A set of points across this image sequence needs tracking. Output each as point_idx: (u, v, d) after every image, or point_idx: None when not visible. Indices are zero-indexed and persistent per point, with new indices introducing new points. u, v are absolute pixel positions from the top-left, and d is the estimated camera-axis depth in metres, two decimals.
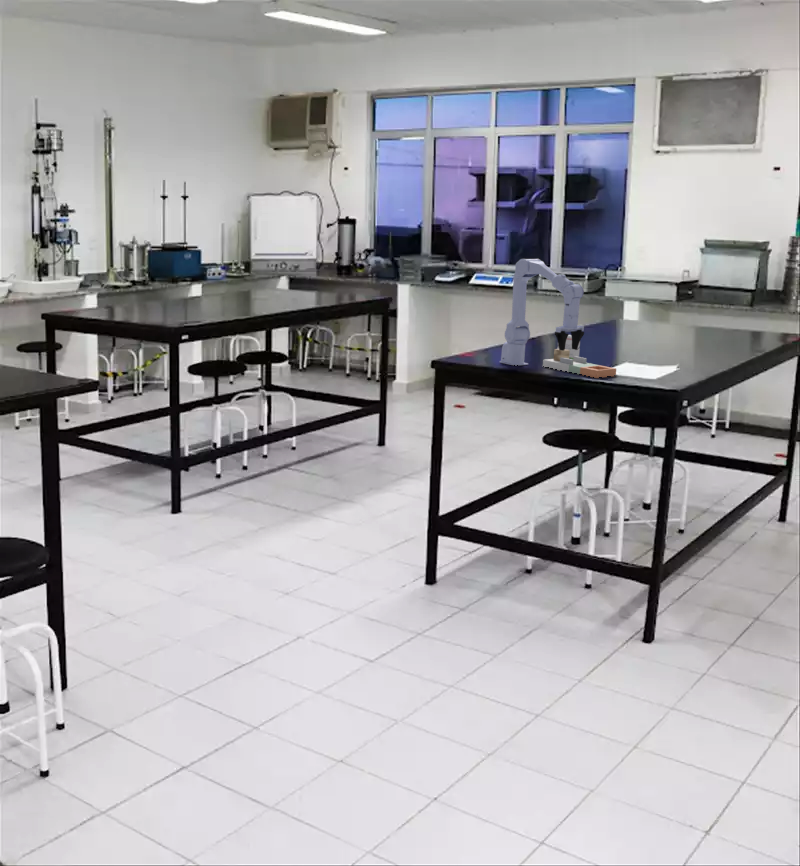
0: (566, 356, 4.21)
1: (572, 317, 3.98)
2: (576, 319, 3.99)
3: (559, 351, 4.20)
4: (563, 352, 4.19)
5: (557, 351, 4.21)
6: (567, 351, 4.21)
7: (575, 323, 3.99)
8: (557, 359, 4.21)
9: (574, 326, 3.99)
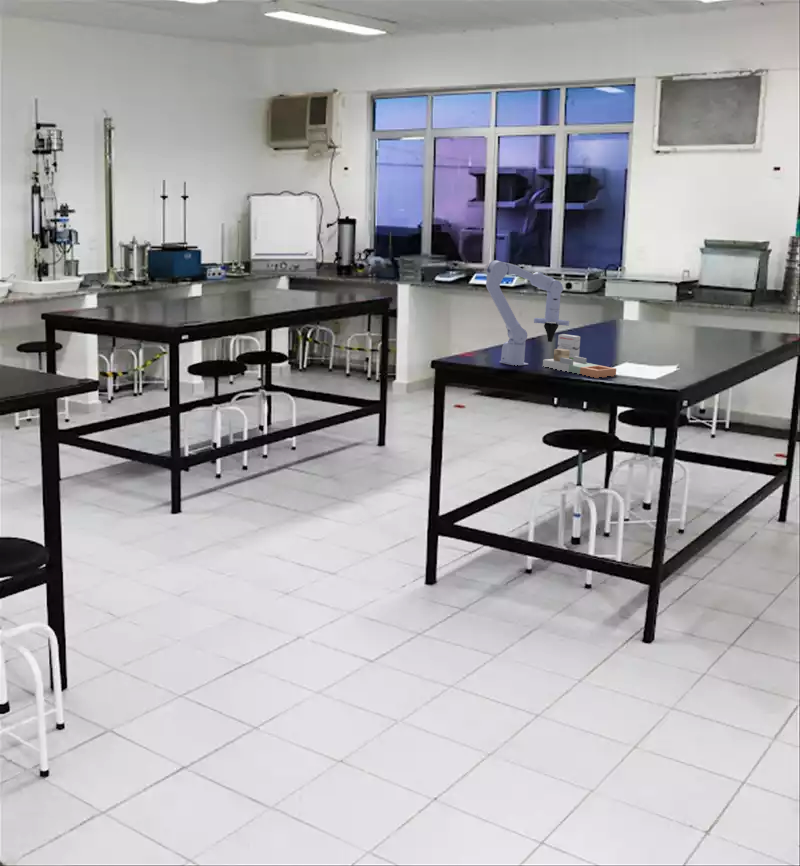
0: (566, 356, 4.21)
1: (547, 310, 4.22)
2: (550, 312, 4.21)
3: (559, 351, 4.20)
4: (563, 352, 4.19)
5: (557, 351, 4.21)
6: (567, 351, 4.21)
7: (549, 316, 4.21)
8: (557, 359, 4.21)
9: (548, 319, 4.22)
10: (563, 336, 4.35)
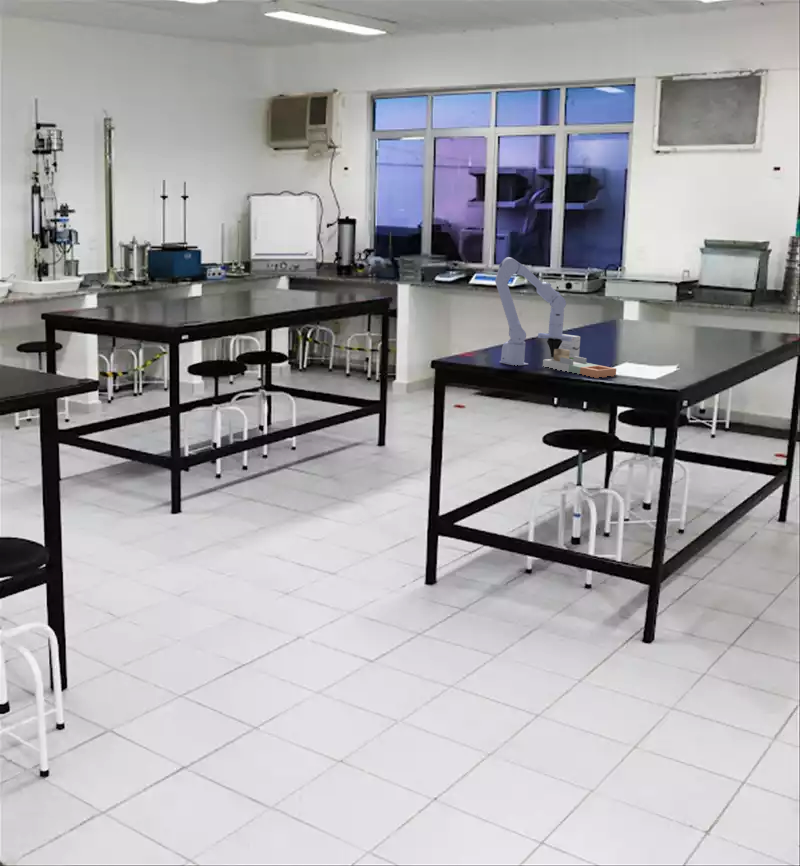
0: (566, 356, 4.21)
1: (550, 325, 4.22)
2: (553, 328, 4.21)
3: (559, 351, 4.20)
4: (563, 352, 4.19)
5: (557, 351, 4.21)
6: (567, 351, 4.21)
7: (552, 331, 4.21)
8: (557, 359, 4.21)
9: (551, 334, 4.22)
10: None
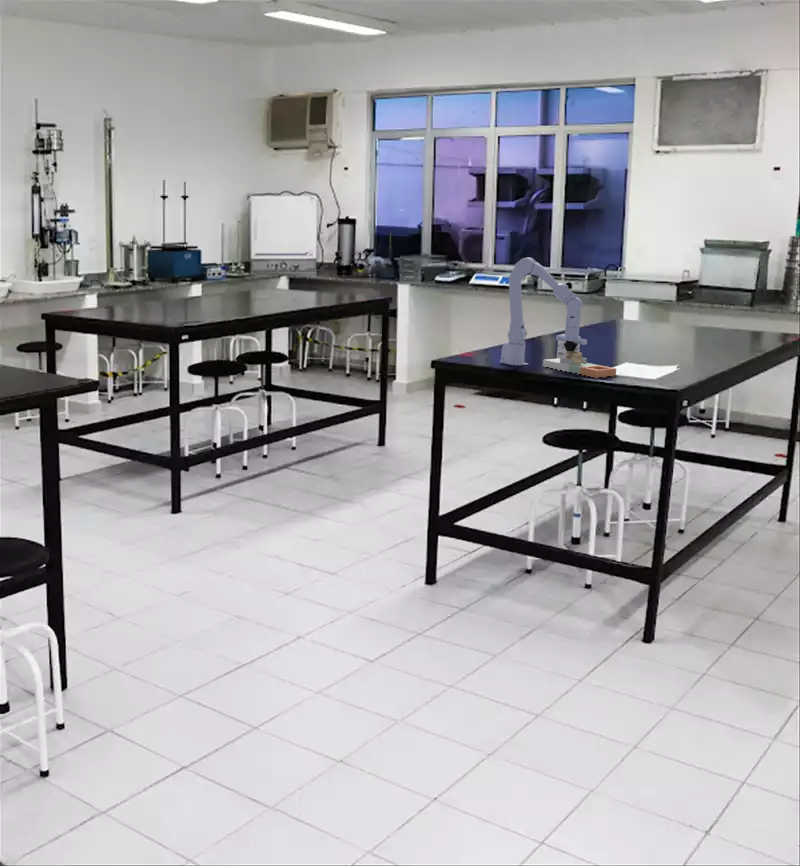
0: (578, 359, 4.15)
1: (565, 327, 4.16)
2: (567, 330, 4.15)
3: (570, 354, 4.14)
4: (574, 355, 4.13)
5: (569, 353, 4.15)
6: (579, 354, 4.14)
7: (567, 334, 4.15)
8: None
9: (566, 336, 4.16)
10: None
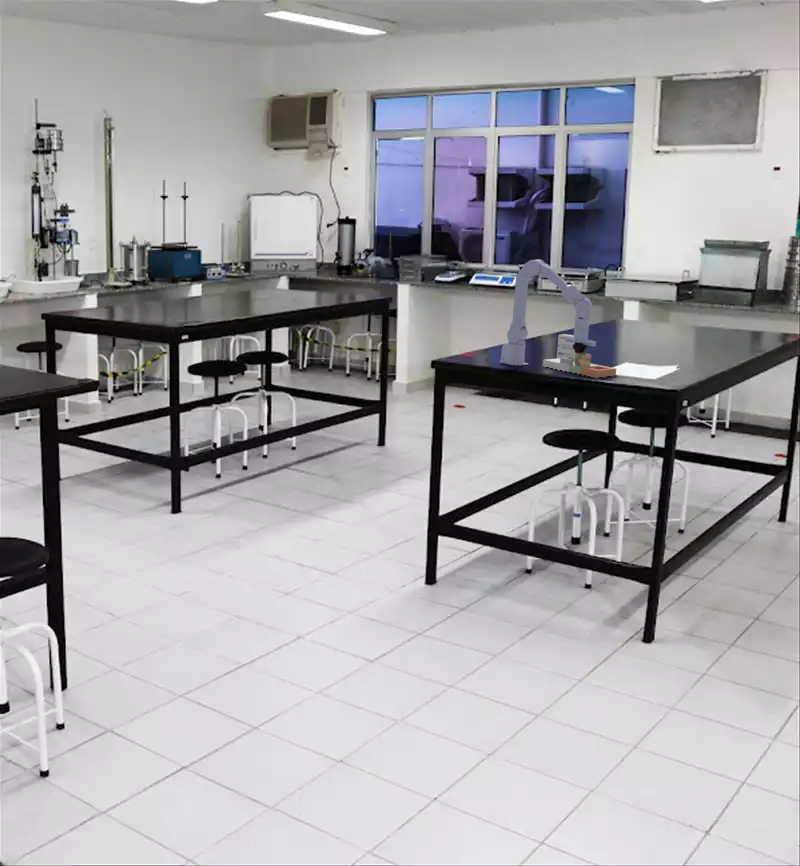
0: (587, 361, 4.11)
1: (574, 329, 4.12)
2: (576, 331, 4.11)
3: (580, 355, 4.10)
4: (583, 357, 4.09)
5: (578, 355, 4.11)
6: (588, 356, 4.10)
7: (575, 335, 4.12)
8: (577, 363, 4.12)
9: (575, 338, 4.12)
10: (563, 336, 4.35)
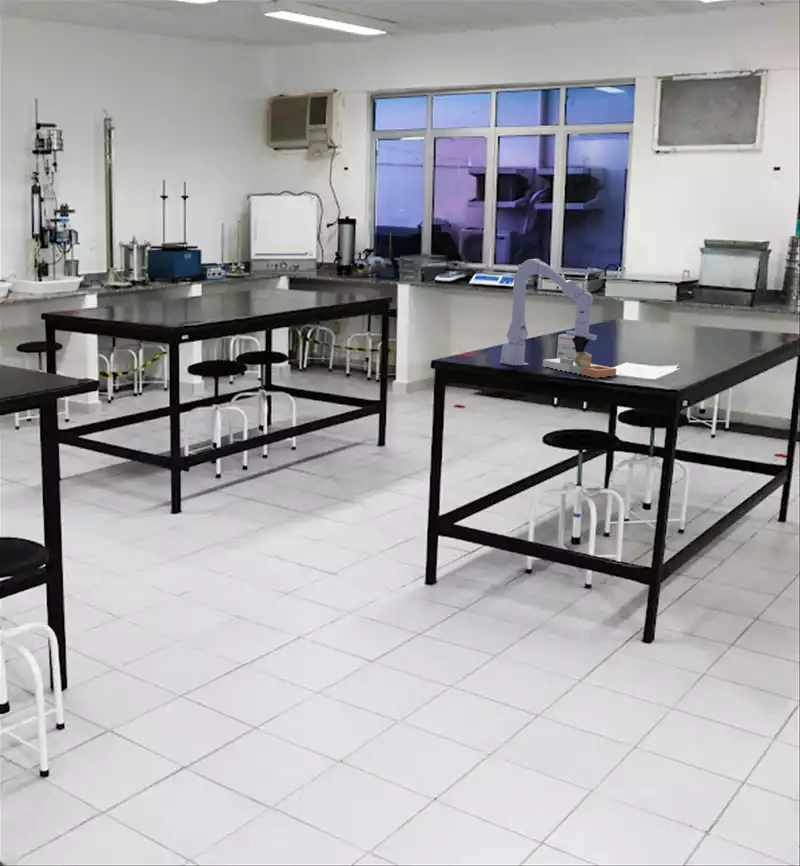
0: (587, 361, 4.11)
1: (575, 323, 4.12)
2: (577, 325, 4.10)
3: (580, 355, 4.10)
4: (584, 357, 4.09)
5: (579, 355, 4.11)
6: (589, 356, 4.10)
7: (576, 329, 4.11)
8: (578, 363, 4.12)
9: (575, 332, 4.11)
10: (563, 336, 4.35)
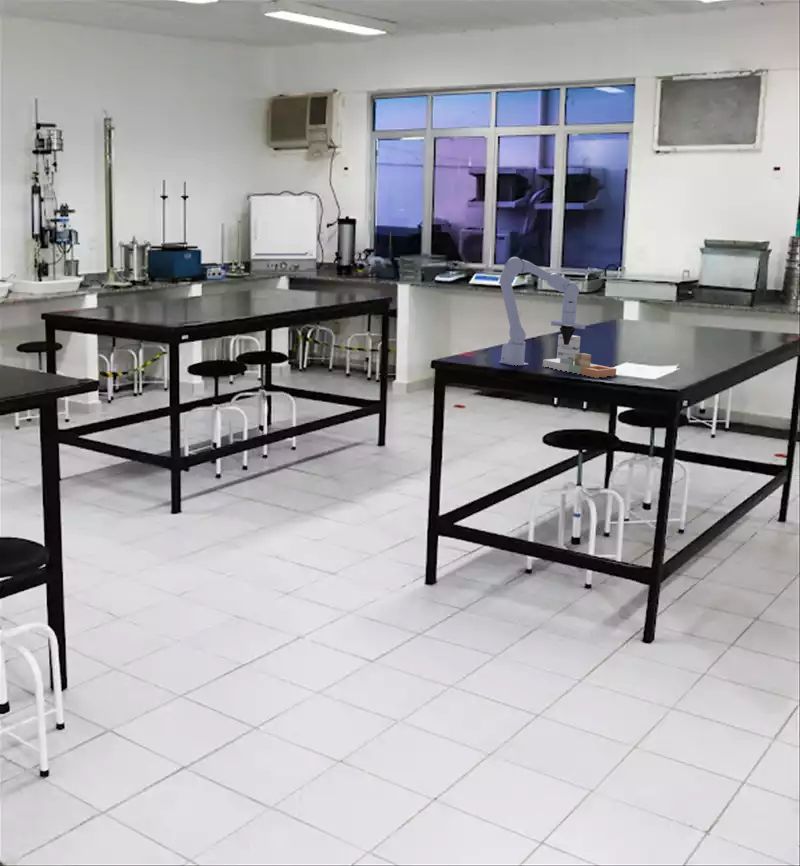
0: (587, 361, 4.11)
1: (563, 312, 4.20)
2: (565, 315, 4.18)
3: (579, 355, 4.10)
4: (583, 356, 4.09)
5: (578, 355, 4.11)
6: (588, 356, 4.11)
7: (565, 319, 4.19)
8: (577, 364, 4.12)
9: (564, 321, 4.19)
10: None
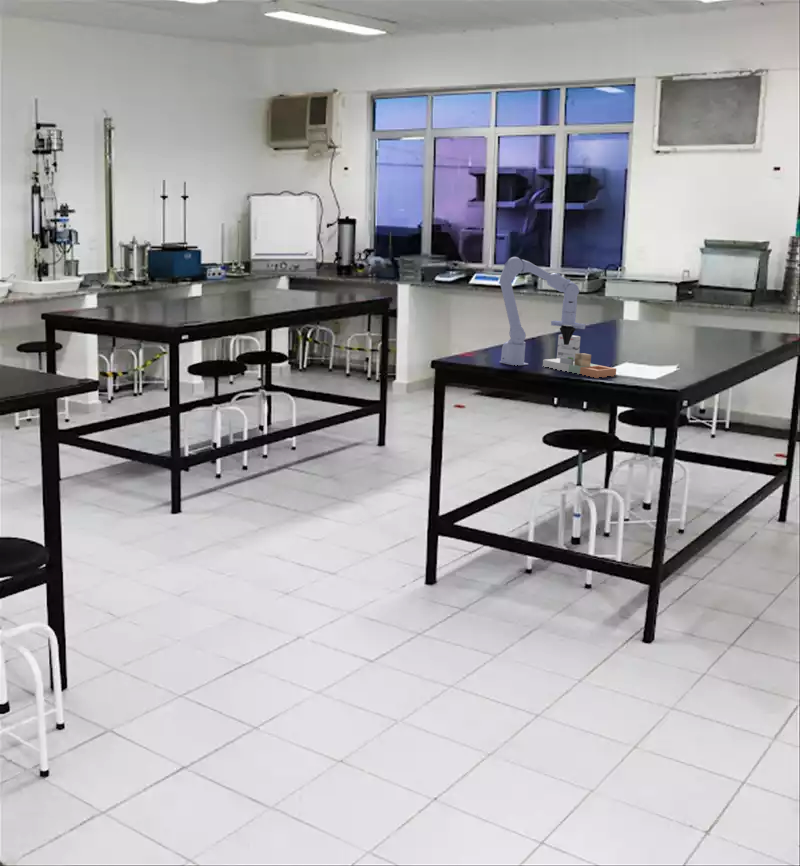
0: (587, 361, 4.11)
1: (563, 312, 4.20)
2: (565, 315, 4.18)
3: (579, 355, 4.10)
4: (583, 356, 4.09)
5: (578, 355, 4.11)
6: (588, 356, 4.11)
7: (565, 319, 4.19)
8: (577, 364, 4.12)
9: (564, 321, 4.19)
10: None
